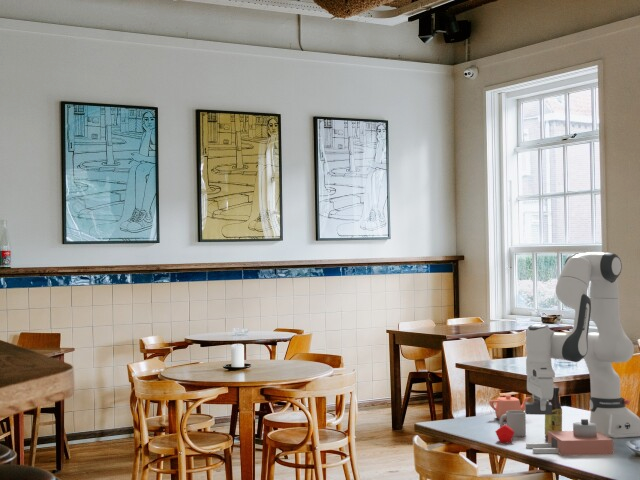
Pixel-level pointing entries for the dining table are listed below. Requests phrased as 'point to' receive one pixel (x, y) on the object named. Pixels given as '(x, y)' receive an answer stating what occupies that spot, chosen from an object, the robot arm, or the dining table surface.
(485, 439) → the dining table surface
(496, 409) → the teapot
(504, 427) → the red pentagonal block
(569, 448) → the pink box with knob
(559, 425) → the sauce bottle
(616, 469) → the dining table surface
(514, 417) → the cup
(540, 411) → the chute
